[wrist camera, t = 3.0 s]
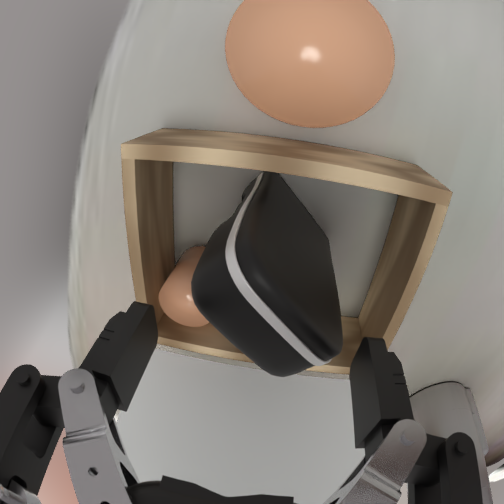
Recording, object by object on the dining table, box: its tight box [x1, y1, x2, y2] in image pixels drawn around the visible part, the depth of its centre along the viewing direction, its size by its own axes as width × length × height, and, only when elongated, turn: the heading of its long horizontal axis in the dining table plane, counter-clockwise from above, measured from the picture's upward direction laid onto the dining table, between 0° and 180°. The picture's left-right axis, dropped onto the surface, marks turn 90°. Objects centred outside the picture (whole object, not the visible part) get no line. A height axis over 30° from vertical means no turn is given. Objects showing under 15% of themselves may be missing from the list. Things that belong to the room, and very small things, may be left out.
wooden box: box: [121, 128, 453, 374], centre depth 19 cm, size 17×14×6 cm
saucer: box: [225, 0, 395, 128], centre depth 15 cm, size 10×10×1 cm
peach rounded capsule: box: [159, 246, 209, 327], centre depth 22 cm, size 4×4×4 cm
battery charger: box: [191, 171, 343, 377], centre depth 16 cm, size 7×4×11 cm, turn 40°
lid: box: [116, 348, 365, 504], centre depth 16 cm, size 17×14×1 cm
